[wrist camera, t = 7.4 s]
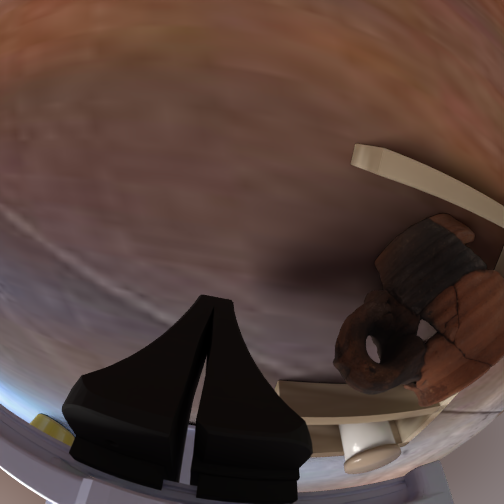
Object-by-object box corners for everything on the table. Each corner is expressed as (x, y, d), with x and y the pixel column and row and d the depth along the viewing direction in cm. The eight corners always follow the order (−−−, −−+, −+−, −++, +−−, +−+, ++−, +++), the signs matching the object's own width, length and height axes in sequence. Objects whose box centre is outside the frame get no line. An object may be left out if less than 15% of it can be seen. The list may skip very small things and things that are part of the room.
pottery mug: (477, 191, 12) (555, 297, 7) (423, 281, 19) (471, 364, 14) (309, 235, 10) (415, 446, 5) (291, 334, 17) (337, 448, 12)
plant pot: (72, 447, 28) (56, 490, 19) (23, 408, 25) (0, 451, 16) (98, 445, 26) (79, 499, 17) (37, 400, 22) (9, 454, 13)
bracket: (396, 423, 21) (404, 446, 18) (257, 427, 20) (257, 456, 17) (519, 220, 12) (546, 236, 9) (355, 143, 11) (383, 148, 8)
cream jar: (368, 420, 20) (381, 469, 15) (326, 422, 20) (335, 476, 15) (392, 392, 18) (412, 445, 13) (347, 394, 18) (362, 454, 13)
